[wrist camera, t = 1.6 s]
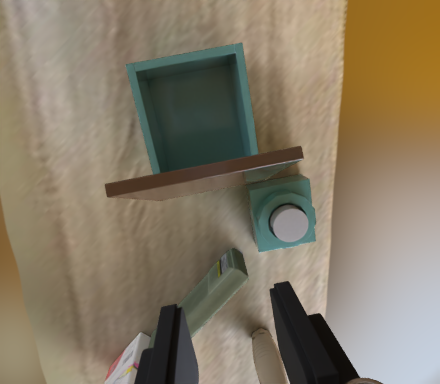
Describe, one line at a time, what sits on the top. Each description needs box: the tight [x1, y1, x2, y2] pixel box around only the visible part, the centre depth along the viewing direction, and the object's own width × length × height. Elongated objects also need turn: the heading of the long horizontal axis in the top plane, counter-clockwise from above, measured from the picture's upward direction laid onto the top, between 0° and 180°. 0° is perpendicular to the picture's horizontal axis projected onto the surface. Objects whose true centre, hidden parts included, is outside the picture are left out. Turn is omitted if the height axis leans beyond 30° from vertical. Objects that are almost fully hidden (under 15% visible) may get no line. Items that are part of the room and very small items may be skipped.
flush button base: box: [245, 174, 316, 253], centre depth 38 cm, size 9×8×5 cm
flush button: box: [270, 205, 308, 242], centre depth 35 cm, size 4×4×2 cm
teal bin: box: [126, 43, 259, 175], centre depth 33 cm, size 14×12×8 cm
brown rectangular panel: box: [105, 146, 304, 201], centre depth 23 cm, size 14×12×1 cm
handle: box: [252, 328, 288, 384], centre depth 39 cm, size 5×6×15 cm
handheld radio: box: [148, 248, 249, 348], centre depth 41 cm, size 7×3×25 cm
